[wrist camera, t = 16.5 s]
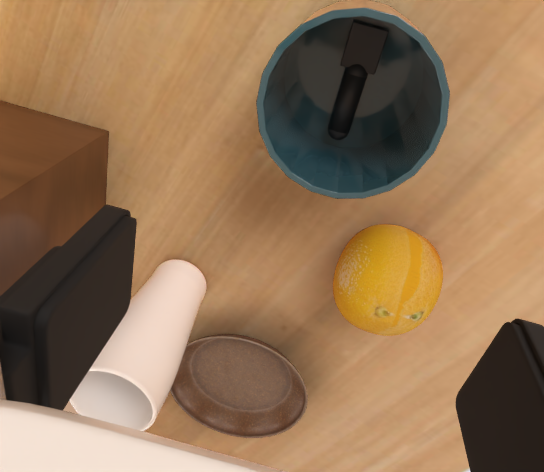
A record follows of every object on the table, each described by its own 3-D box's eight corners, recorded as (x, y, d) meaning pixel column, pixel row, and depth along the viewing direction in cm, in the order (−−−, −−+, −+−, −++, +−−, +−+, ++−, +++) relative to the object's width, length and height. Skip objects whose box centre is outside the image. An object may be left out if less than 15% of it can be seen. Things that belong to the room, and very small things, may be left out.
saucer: (281, 435, 54) (278, 456, 52) (162, 390, 53) (153, 409, 51) (332, 352, 46) (331, 372, 44) (194, 298, 46) (185, 315, 43)
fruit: (421, 300, 42) (433, 365, 35) (331, 288, 42) (325, 349, 36) (443, 212, 37) (462, 267, 30) (342, 201, 38) (338, 252, 31)
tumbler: (300, -19, 31) (280, -16, 23) (453, 22, 30) (484, 39, 23) (267, 129, 36) (241, 171, 28) (395, 165, 36) (405, 218, 28)
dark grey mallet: (353, 19, 31) (352, 21, 29) (388, 29, 31) (389, 31, 29) (320, 131, 35) (318, 138, 33) (351, 140, 35) (350, 147, 33)
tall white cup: (136, 281, 46) (50, 402, 33) (169, 236, 43) (86, 351, 30) (193, 318, 47) (130, 448, 34) (229, 278, 44) (174, 405, 31)
